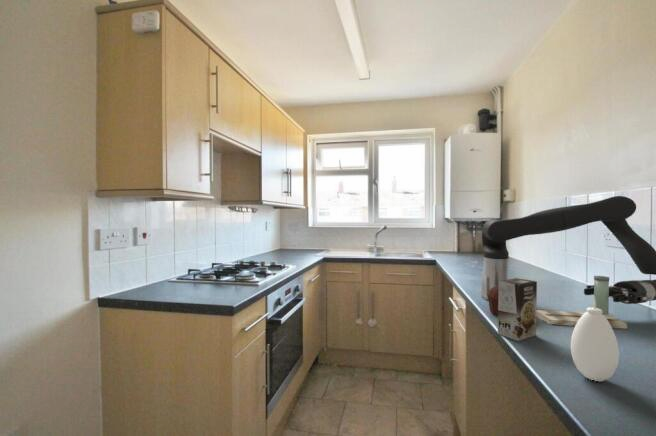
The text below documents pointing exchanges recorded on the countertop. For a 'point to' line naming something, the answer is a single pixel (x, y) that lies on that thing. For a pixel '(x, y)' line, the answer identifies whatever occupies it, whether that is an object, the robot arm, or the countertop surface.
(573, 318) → the beige flat wavy piece
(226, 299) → the countertop surface
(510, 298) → the coffee box
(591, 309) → the sauce bottle
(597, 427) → the countertop surface
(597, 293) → the green cylindrical container
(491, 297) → the muffin
